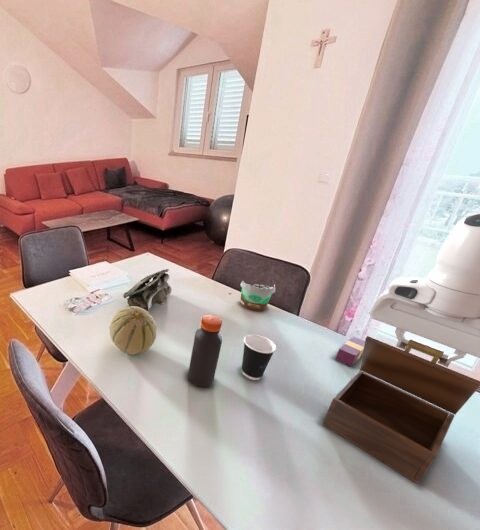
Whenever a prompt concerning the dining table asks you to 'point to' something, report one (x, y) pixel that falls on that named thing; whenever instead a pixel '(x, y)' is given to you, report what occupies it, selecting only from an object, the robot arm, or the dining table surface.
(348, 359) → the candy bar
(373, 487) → the dining table surface
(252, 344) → the dixie cup
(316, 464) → the dining table surface
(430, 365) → the lid
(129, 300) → the hollow geode rock
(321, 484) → the dining table surface
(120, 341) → the cantaloupe
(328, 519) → the dining table surface
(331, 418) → the chest
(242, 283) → the food container
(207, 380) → the bottle
